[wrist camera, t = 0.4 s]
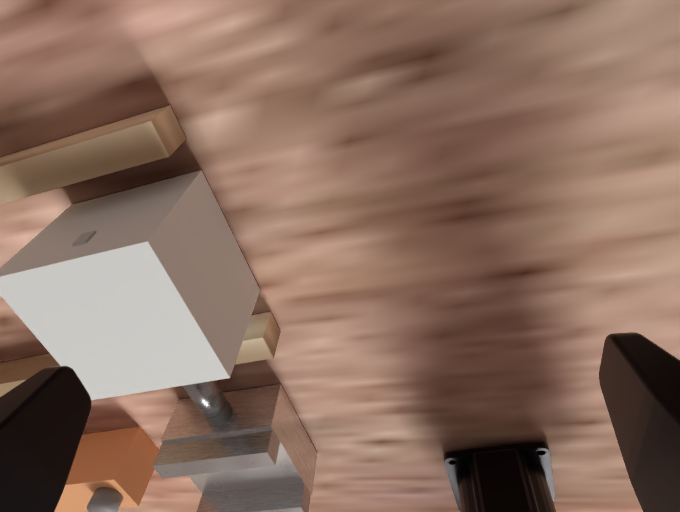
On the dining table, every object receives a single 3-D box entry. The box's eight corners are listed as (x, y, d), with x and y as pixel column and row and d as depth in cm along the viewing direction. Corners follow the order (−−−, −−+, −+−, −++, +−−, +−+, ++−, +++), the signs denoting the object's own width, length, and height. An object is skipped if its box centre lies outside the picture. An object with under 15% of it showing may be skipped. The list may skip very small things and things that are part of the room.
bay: (280, 331, 27) (273, 358, 25) (-7, 383, 31) (-29, 408, 30) (170, 105, 20) (150, 120, 19) (-176, 211, 25) (-216, 231, 23)
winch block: (317, 452, 33) (308, 519, 29) (224, 463, 35) (204, 528, 31) (255, 336, 27) (235, 400, 24) (147, 355, 29) (112, 419, 25)
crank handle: (162, 450, 35) (131, 521, 30) (57, 464, 37) (15, 532, 32) (141, 424, 33) (106, 495, 29) (33, 439, 35) (-14, 508, 31)
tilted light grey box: (260, 291, 25) (231, 379, 20) (145, 314, 27) (91, 402, 22) (200, 167, 22) (146, 238, 17) (70, 203, 23) (-15, 277, 18)
